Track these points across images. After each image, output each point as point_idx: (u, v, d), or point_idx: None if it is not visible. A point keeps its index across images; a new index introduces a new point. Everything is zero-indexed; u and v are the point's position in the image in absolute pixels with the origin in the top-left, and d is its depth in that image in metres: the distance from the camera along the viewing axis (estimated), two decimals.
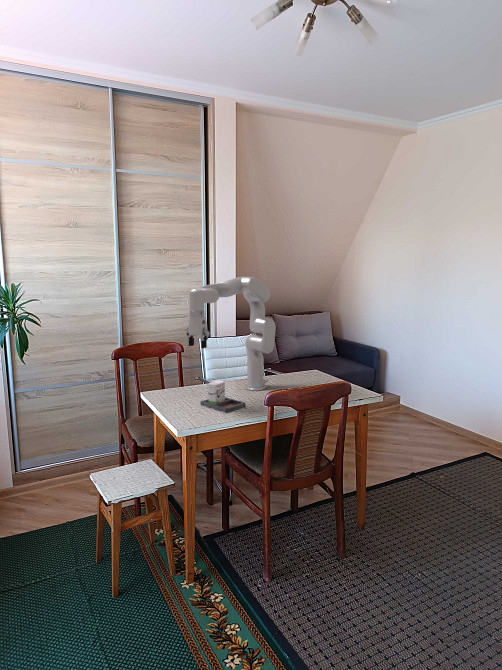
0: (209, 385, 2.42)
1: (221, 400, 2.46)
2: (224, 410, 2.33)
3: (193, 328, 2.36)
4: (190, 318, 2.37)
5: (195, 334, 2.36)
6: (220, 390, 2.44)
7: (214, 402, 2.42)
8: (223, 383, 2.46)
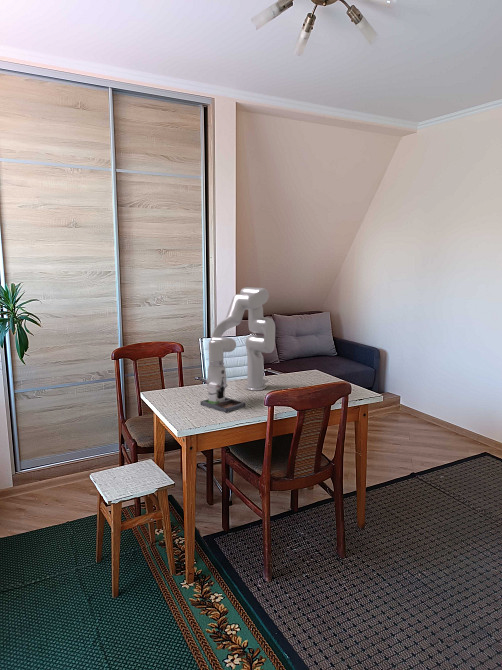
0: (209, 385, 2.42)
1: (221, 400, 2.46)
2: (224, 410, 2.33)
3: (212, 377, 2.43)
4: (209, 367, 2.44)
5: None
6: None
7: (214, 402, 2.42)
8: None
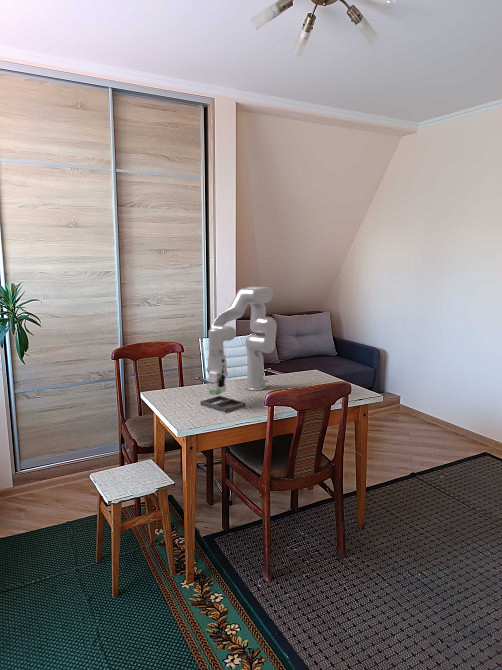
0: (209, 374, 2.42)
1: (222, 389, 2.46)
2: (224, 410, 2.33)
3: (213, 366, 2.42)
4: (209, 356, 2.43)
5: None
6: None
7: (215, 391, 2.42)
8: None
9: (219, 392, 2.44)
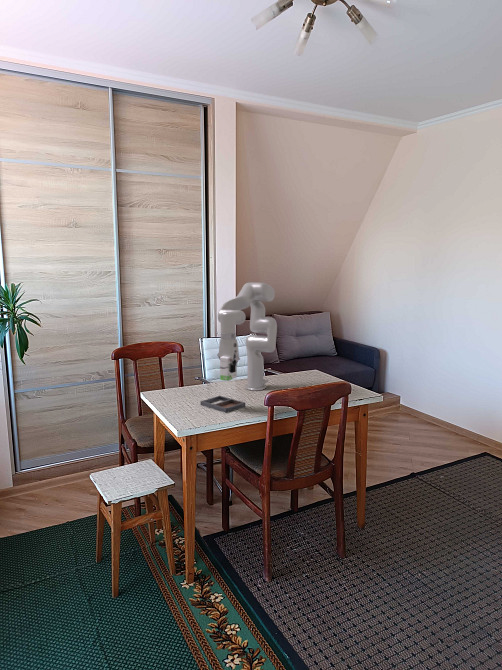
0: (221, 359, 2.34)
1: (233, 375, 2.38)
2: (224, 410, 2.33)
3: (224, 351, 2.34)
4: (221, 341, 2.35)
5: None
6: None
7: (226, 376, 2.34)
8: None
9: (230, 378, 2.36)
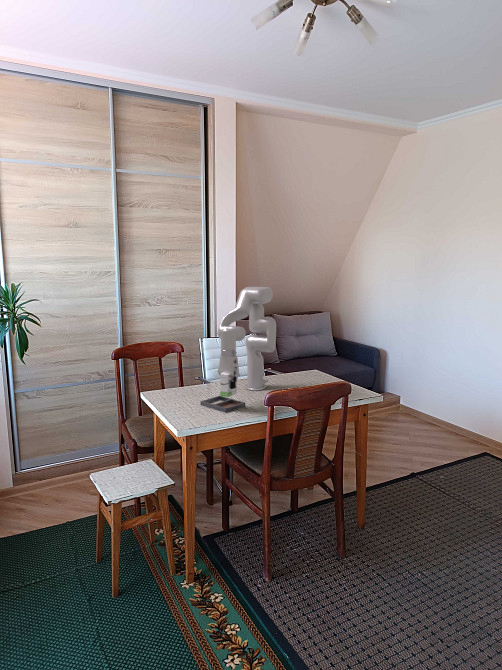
0: (221, 375, 2.35)
1: (233, 391, 2.39)
2: (224, 410, 2.33)
3: (224, 367, 2.36)
4: (221, 357, 2.37)
5: None
6: None
7: (226, 393, 2.35)
8: None
9: (230, 394, 2.37)
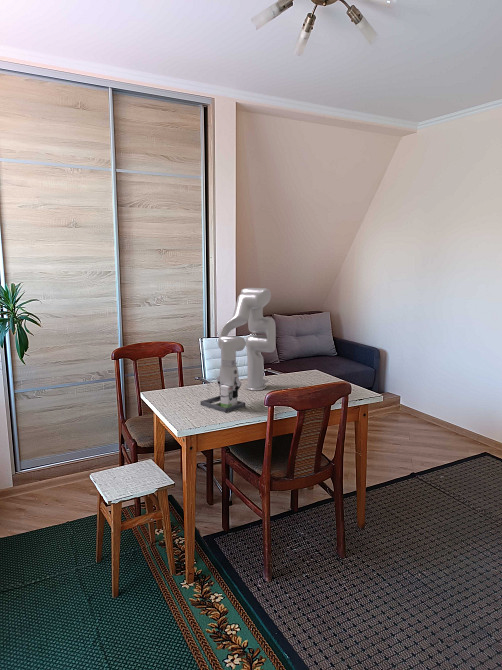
0: (221, 387, 2.36)
1: (233, 403, 2.40)
2: (224, 410, 2.33)
3: (225, 377, 2.36)
4: (221, 367, 2.37)
5: (227, 383, 2.36)
6: None
7: (226, 405, 2.36)
8: None
9: (230, 406, 2.38)
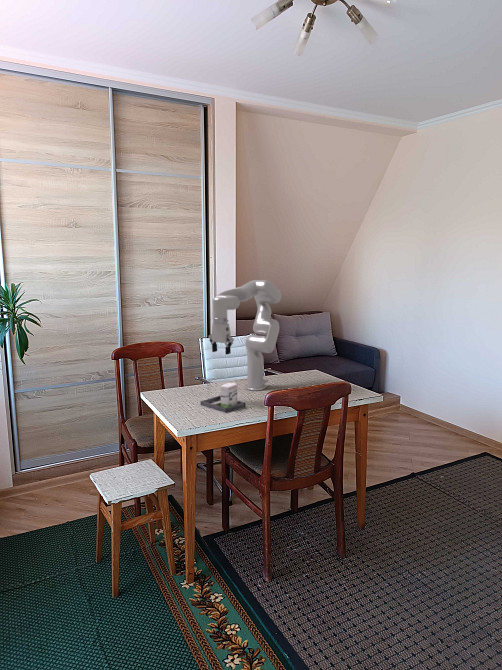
0: (221, 387, 2.36)
1: (233, 403, 2.40)
2: (224, 410, 2.33)
3: (217, 335, 2.43)
4: (213, 325, 2.44)
5: (219, 341, 2.43)
6: (233, 393, 2.38)
7: (226, 405, 2.36)
8: (236, 385, 2.40)
9: None
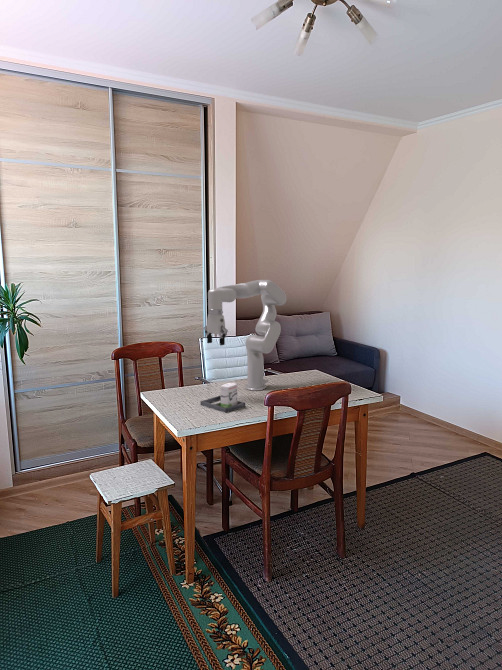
0: (221, 387, 2.36)
1: (233, 403, 2.40)
2: (224, 410, 2.33)
3: (212, 326, 2.49)
4: (209, 317, 2.50)
5: (214, 332, 2.49)
6: (233, 393, 2.38)
7: (226, 405, 2.36)
8: (236, 385, 2.40)
9: None
